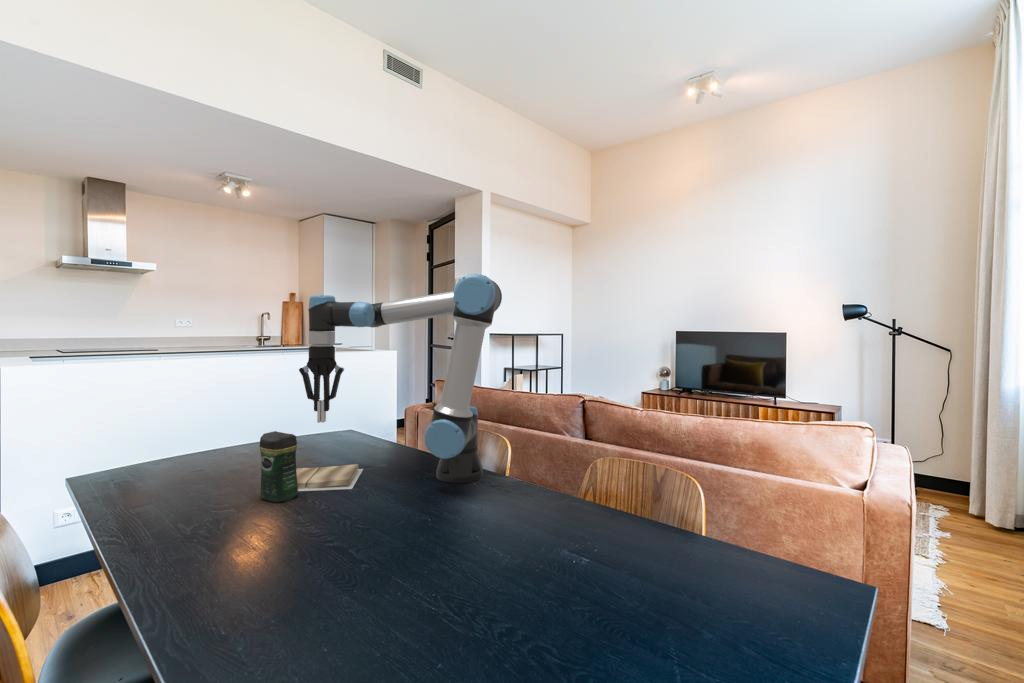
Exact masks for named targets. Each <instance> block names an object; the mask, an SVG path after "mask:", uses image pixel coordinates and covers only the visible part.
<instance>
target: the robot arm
mask: <svg viewBox="0 0 1024 683" xmlns="http://www.w3.org/2000/svg"><path fill="white" fill-rule="evenodd" d="M502 295H503V294H502V290H501V288H500V286H499V285H498V283H497V282H496V281H494V280H493V279H490V278H489V277H488V276H487V275H483V274H478V273H471V274H470V273H469V274H467V275H464V276H463V277H461V278H460V279H459V280H458V281H457V282H456V283H455V286H454V288H453V290H451V291H446V292H441V293H440V292H438V293H433V294H427V295H421V296H413V297H408V298H402V299H396V300H395V299H394V300H389V301H384V302H377V303H370V302H366V301H365V302H364V301H344V302H342V301H341V302H340V301H336V297H335V296H334V295H329V294H328V295H327V294H313V295H311V296H310V297H309V301H308V309H307V311H308V345H310V346H309V347H308V360H307V362H306V365H305V366H303V367H300V368H299V369H298V371H299V373H300V375H301V376H302V380H303V384H304V388H305V389H304V390H305V393H306V397H307V399H308V400H312V401H313V410H314V411H313V412H316V413H317V415H316V418H317V419H316V421H317V423H321V424H322V423H325V422H327V412H328V411H330V400H333V399H335V398H336V397H337V392H338V388H339V384H340V381H341V380H340V379H341V376H342V374H343V372H344V371H345V368H344V367H341V366H339V365H338V364H337V361H336V347H335V346H334V345H335V344H336V327H345V328H346V327H349V328H350V327H351V328H353V327H355V328H366V327H367V328H379V327H382V326H387V325H391V324H392V325H393V324H401V323H404V322H405V323H406V322H407V323H408V322H413V321H420V320H426V319H433V318H440V317H447V316H452V318H453V319H454V321H455V323H456V325H455V329H454V335H453V339H452V345H451V348H450V354H449V358H448V359H449V360H448V364H447V370H446V374H445V379H444V383H443V389H442V393H441V398H440V402H439V403H438V404H436V405H435V406H434V407H433V412H432V416H431V421H430V423H429V424H428V426H427V427H426V430H425V432H424V444H425V446H426V449H428V451H429V452H430V453H431V455H433V456H434V457H437V458H439V461H438V464H437V467H436V475H435V476H436V479H437V480H439V481H441V482H444V483H451V484H465V483H473V482H475V481H478V480H480V479H482V478H483V475H484V468H483V465H482V462H481V458H480V456H479V452H478V451H479V449H478V446H479V430H478V429H479V410H478V408H477V407H476V406H473V405H472V406H471V405H470V404H471V401H472V396H473V395H472V394H473V392H474V391H473V390H474V385H475V381H476V376H477V371H478V366H479V363H480V356H481V353H482V347H483V342H484V337H485V332H486V329H488V328H489V327H490V326H492V324H493V320H494V315H495V312H496V311H497V310H498V309H499V308H500V306H501V303H502V301H503V296H502ZM333 371H334V373H335V375H334V379H333V382H332V386H330V382H331V381H330V377H331V373H332V372H333ZM309 372H311V374H313V387H312V383H311V378H310V375H309V374H310V373H309ZM321 376H322V377H321ZM321 378H322V380H323V399H321V397H320V396H321ZM330 388H331V389H330ZM330 390H331V391H330Z"/></svg>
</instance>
